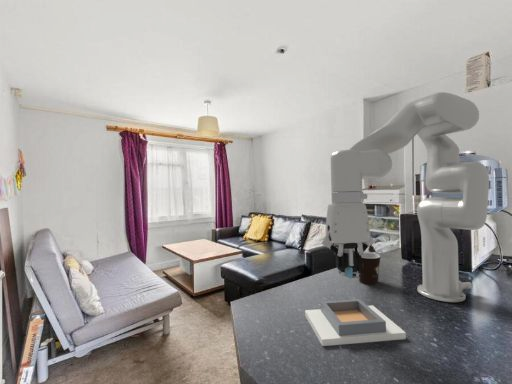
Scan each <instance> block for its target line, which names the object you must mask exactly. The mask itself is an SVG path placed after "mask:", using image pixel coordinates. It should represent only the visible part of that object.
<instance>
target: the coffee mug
mask: <svg viewBox="0 0 512 384" xmlns="http://www.w3.org/2000/svg"><path fill="white" fill-rule="evenodd" d="M361 259H362V266H361V271H357V272H358V273H359V274H360V275H358V277H360V278H358V279H359V280H358V281H359V283H361V284H363V285H366V284H368V286H375V285H378V283H379V275H380V274H379V273H380V266H381V265H380V264H381V254H378V253H373V252H363V255H361Z"/></svg>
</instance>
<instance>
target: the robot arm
mask: <svg viewBox="0 0 512 384" xmlns="http://www.w3.org/2000/svg"><path fill="white" fill-rule="evenodd" d="M479 119H480V111H479V108H478V107H477V105H476V103H474V102H472V101H471V100H469V99H467V98H465V97H462V96H459V95H457V94H453V93H450V92H444V91H441V92H435V93H432V94H430V95H427V96H424V97H421V98H418V99H415V100H412V101H410V102H408V103H406V104H404V105H403V106H402V107H401V108H400V109H399V110H398V111H397V112H395V114H394V115H393V116H392V117H391V118H390V119H389V120H388V121H387V122H386V123H385V124H383V126H381V127H380V128H378V129H376V130H375V131H373V132H372V133H370V134H369V135H367V136H365V137H363V138H362V139H360V140H359V141H357V142H356V143H354V144H353V145H352V146H351V147H350V148H348V149H342V150H337V151H335V152H332V154H331V155H330V183H331V184H330V188H331V189H330V191H331V203H329V204H328V207H327V211H326V221H325V236H324V238H323V240H322V242H321V244H322V246H324V247H326V248H327V249H329V250H331V252H333V253H334V255H335V267H336V268H337V270H338V271H339V270H340V271H341V272H345V257H344V256H343V245H344V244H346V243H357V244H356V248H354V249H353V264H354V266H356V267H357V272H358V271H361V266H362V259H361V255H363V253H365V251H366V250H367V249H368V247H370V246H372V245H373V244H374V243H375V240H374V238H373V237H372V234H370V233H371V232H370V221H369V220H370V219H369V214H368V209H367V206H366V204H365V203H363V202H364V200H367V199H368V194H367V193H364V191H363V180H373V179H380V178H384V177H385V176H386V175H388V174H389V173H390V172H391V170H392V167H393V159H392V158H391V156H390V155H389V154H392V153H395V152H397V151H399V150H402V149H403V148H405V147H406V146H408V145H409V143H410V142H411V141H412V140H413V139H414V138H415V137H416V135H417V136H418V138H419V139H420V140H421V141H422V143H423V145H424V146H425V149H426V152H427V153H426V158H427V159H426V167H425V168H426V170H425V178H424V179H425V184H424V185H425V188H426V190H427V191H428V192H431V193H434V194H462V197H452V196H451V197H450V196H444V197H443V196H442V197H441V196H432V197H427V198H424V199H422V200H420V201H419V203H418V204H417V207H416V213H417V214H416V215H417V219H418V223H419V228H420V235H421V237H420V238H421V240H420V241H421V264H422V265H421V267H422V272H421V273H422V274H421V275H422V284H421V283H420V284H418V285H417V292H418V293H419V294H421V296H424V297H426V298H428V299H431V300H435V301H439V302H443V303H444V302H446V303H460V302H461V303H462V302H464V301H465V300H466V294H465V293H464V292H463V290H468V289H472V288H473V287H474V284H473V283H472V282H470V281H466V282H464V281H463V282H462V281H461V280H460V279H459V277H460V275H459V244H458V239H457V237H456V235H455V234H454V233H453V231H452V230H451V229H459V230H466V231H467V230H468V231H477V230H480V229H482V228H483V227H484V226H485V224H486V221H487V218H488V208H489V207H488V205H489V191H490V190H489V189H490V175H489V172H488V169H487V167H486V166H485V165H484V164H483V163H481V162H479V161H464V162H463V161H461V162H460V148H459V145H457V144H456V142H455V141H454V140H453V139H451V138H450V137H449V136H448V135H450V134H453V133H458V132H459V133H460V132H464V131H467V130H471V129H473V127H475V126H476V125H477V123H478V122H479ZM331 242H332V243H333V244H334V245H333V244H332V243H331ZM337 245H338V247H337Z"/></svg>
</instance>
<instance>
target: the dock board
mask: <svg viewBox="0 0 512 384" xmlns="http://www.w3.org/2000/svg"><path fill="white" fill-rule="evenodd" d="M304 314H305V318H306V320H307V321H308V324H309V325H310V327H311V328H312V330H313V332H314V334H315V336H316V337H317V340H318V342H319V343H320V344H321V347H327V346H340V345H349V344H365V343H375V342H377V343H378V342H388V341H399V340H406V339H407V333H406V331H404V330H403V329H402V328H401V327H400V326H398V325H397V324H396V323H395V322H394V321H392V320H391V319H390V318H389V317H387V316H386V315H385V314H384V313H383V312H382V311H380V310H379V309H378V308H377V307H375V306H374V304H373V305H372V304H371V305H368V304H366V302H364V301H363V300H361V299H360V298H354V299H341V300H338V299H337V300H327V301H326V300H324V301H320V308H317V309H316V308H315V309H305V310H304Z"/></svg>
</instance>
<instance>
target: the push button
mask: <svg viewBox="0 0 512 384" xmlns="http://www.w3.org/2000/svg"><path fill="white" fill-rule="evenodd" d="M356 244H357V243H346V244H344V245H343V256H344V257H345V272H341V271H340V270H338V274H339V275H341V276H342V277H345V278H346V277H347V278H349V279H355V278H356V279H359V278H360V277H359V275H360V274H359V273H358V271H357V267H356V266H354V264H353V253H354V248H356ZM337 247H338V245H337Z"/></svg>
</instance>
